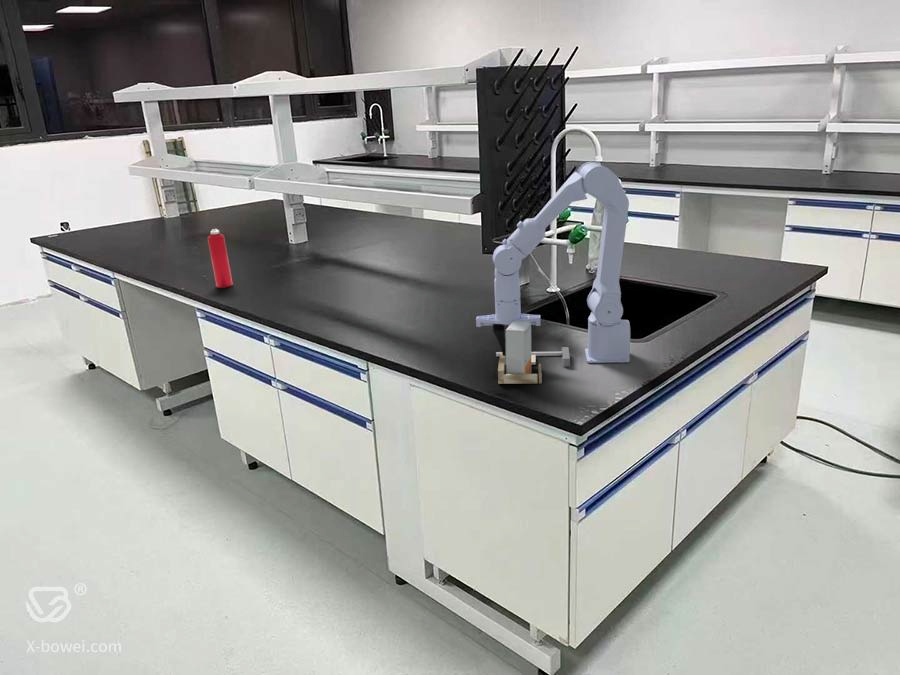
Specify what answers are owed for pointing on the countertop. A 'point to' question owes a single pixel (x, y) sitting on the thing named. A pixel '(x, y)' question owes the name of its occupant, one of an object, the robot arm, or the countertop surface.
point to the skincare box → (518, 348)
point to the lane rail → (564, 355)
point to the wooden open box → (516, 378)
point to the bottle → (219, 259)
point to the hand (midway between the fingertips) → (509, 354)
